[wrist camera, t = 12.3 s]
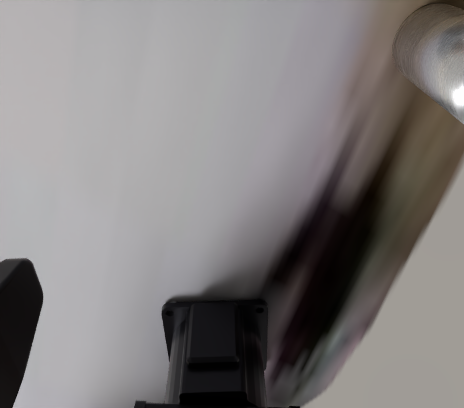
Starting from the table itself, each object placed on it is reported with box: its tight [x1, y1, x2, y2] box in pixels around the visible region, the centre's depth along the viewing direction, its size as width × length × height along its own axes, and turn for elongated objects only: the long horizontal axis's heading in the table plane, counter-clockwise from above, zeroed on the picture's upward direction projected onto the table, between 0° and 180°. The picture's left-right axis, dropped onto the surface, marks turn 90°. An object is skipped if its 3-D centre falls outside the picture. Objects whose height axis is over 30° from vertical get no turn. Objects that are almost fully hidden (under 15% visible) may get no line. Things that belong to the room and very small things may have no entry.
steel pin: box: [392, 3, 464, 124], centre depth 16 cm, size 3×3×6 cm
